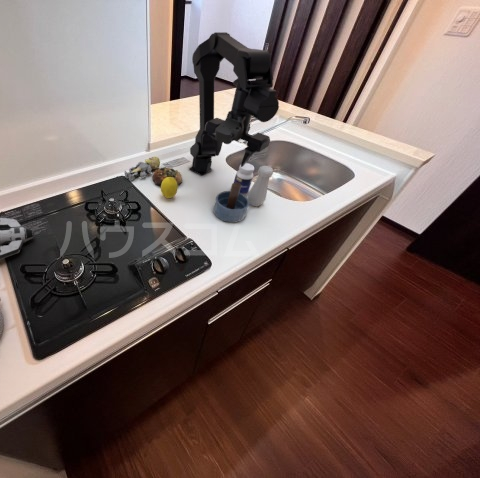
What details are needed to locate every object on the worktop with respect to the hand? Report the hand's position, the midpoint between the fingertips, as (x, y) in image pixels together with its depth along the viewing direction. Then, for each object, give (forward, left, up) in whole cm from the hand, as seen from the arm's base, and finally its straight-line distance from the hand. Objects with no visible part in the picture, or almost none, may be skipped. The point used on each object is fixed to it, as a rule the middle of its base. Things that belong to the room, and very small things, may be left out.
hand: (229, 160), depth 81 cm
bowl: (+8, -7, -13) cm, 16 cm away
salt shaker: (+11, +4, -13) cm, 17 cm away
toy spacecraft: (-30, -69, -13) cm, 76 cm away
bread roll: (-19, -7, -13) cm, 24 cm away
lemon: (-11, -15, -13) cm, 23 cm away
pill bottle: (+4, +6, -13) cm, 15 cm away
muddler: (+8, -7, -12) cm, 16 cm away
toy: (-29, -18, -11) cm, 36 cm away
